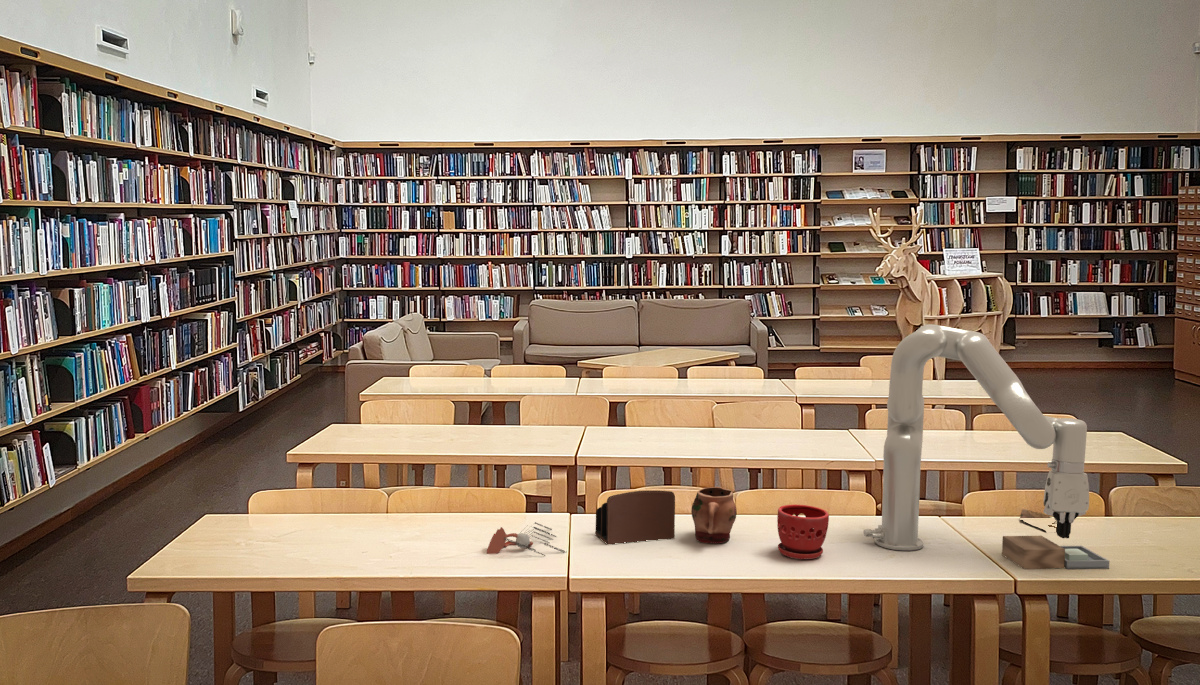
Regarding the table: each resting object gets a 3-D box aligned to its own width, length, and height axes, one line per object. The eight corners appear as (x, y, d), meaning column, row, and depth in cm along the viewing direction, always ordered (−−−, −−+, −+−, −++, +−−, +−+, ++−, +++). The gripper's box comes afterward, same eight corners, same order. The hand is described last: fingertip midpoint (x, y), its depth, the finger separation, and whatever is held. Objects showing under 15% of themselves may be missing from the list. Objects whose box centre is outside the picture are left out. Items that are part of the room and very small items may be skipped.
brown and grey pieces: (498, 530, 262) (501, 501, 287) (485, 560, 263) (488, 529, 288) (572, 559, 265) (568, 528, 289) (558, 589, 266) (556, 556, 290)
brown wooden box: (1023, 569, 258) (1024, 549, 258) (1001, 554, 270) (1002, 536, 270) (1064, 568, 259) (1065, 549, 258) (1040, 554, 271) (1041, 535, 270)
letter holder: (675, 539, 282) (676, 489, 280) (607, 545, 275) (607, 494, 274) (661, 529, 291) (661, 480, 290) (594, 535, 284) (595, 485, 283)
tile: (1088, 554, 263) (1087, 562, 263) (1077, 548, 267) (1076, 556, 268) (1069, 554, 262) (1069, 562, 262) (1059, 548, 267) (1058, 556, 267)
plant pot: (787, 564, 260) (788, 517, 259) (769, 548, 273) (770, 504, 272) (835, 561, 263) (837, 515, 262) (815, 546, 276) (816, 502, 275)
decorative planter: (737, 553, 269) (738, 501, 268) (690, 551, 270) (691, 499, 269) (734, 531, 289) (735, 483, 288) (690, 530, 290) (691, 481, 289)
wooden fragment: (1068, 535, 290) (1068, 531, 290) (1026, 532, 292) (1027, 529, 292) (1046, 511, 315) (1046, 508, 315) (1008, 509, 317) (1008, 506, 317)
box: (1066, 569, 258) (1067, 561, 258) (1041, 553, 271) (1041, 546, 271) (1108, 568, 259) (1109, 560, 259) (1081, 553, 272) (1081, 545, 272)
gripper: (1047, 470, 258) (1042, 541, 260) (1104, 470, 259) (1098, 541, 261) (1032, 463, 266) (1027, 532, 268) (1088, 463, 267) (1083, 532, 269)
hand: (1062, 536), depth 264 cm, fingers closed
